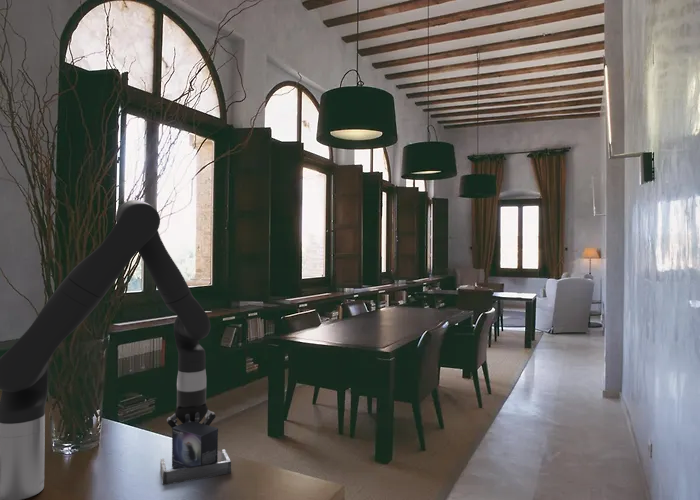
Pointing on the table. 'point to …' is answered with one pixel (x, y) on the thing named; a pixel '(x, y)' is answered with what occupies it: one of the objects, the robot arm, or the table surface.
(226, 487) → the table surface
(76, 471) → the table surface
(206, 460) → the small box
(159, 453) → the table surface
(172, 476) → the metal bracket
